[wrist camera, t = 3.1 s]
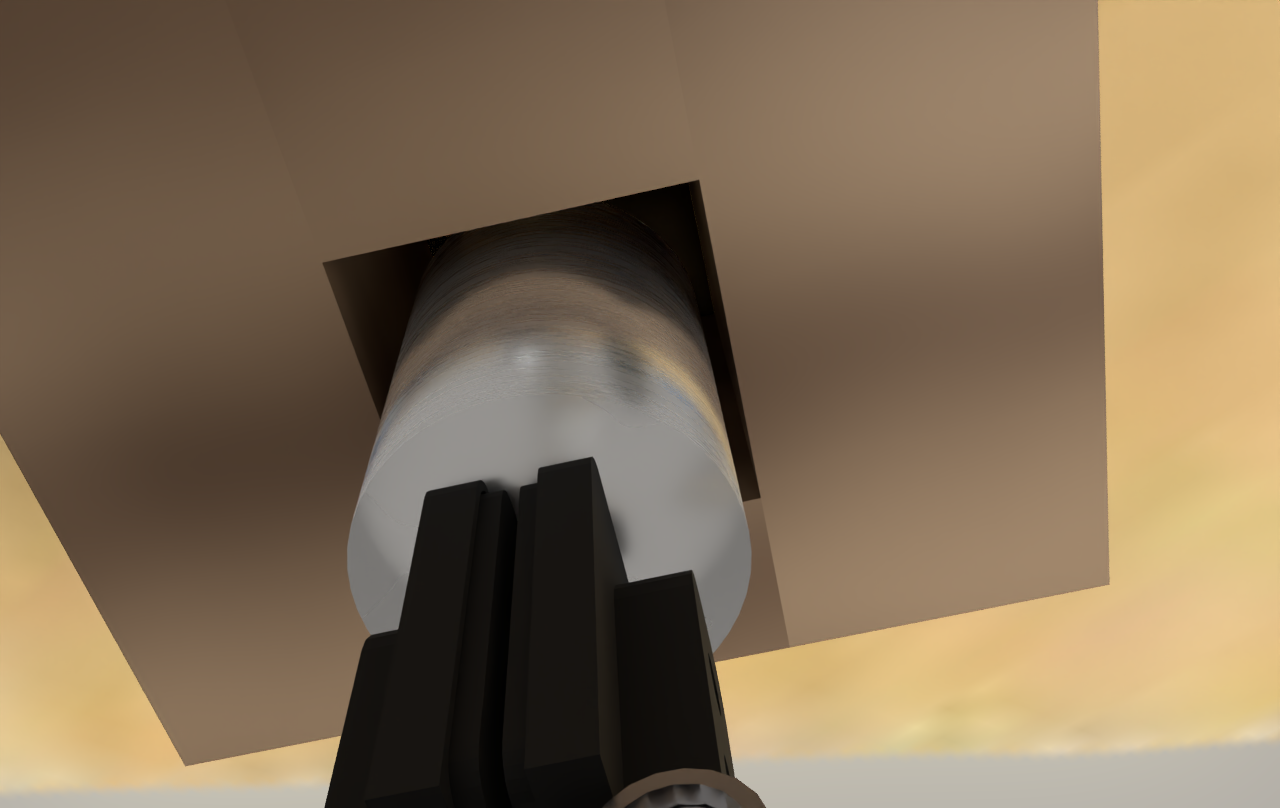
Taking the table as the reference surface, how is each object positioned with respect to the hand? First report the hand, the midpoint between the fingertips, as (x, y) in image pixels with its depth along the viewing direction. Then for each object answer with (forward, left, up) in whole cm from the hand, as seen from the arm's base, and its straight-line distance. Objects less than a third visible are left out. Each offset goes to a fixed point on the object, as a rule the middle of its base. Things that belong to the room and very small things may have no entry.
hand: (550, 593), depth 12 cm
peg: (0, 0, -6) cm, 6 cm away
